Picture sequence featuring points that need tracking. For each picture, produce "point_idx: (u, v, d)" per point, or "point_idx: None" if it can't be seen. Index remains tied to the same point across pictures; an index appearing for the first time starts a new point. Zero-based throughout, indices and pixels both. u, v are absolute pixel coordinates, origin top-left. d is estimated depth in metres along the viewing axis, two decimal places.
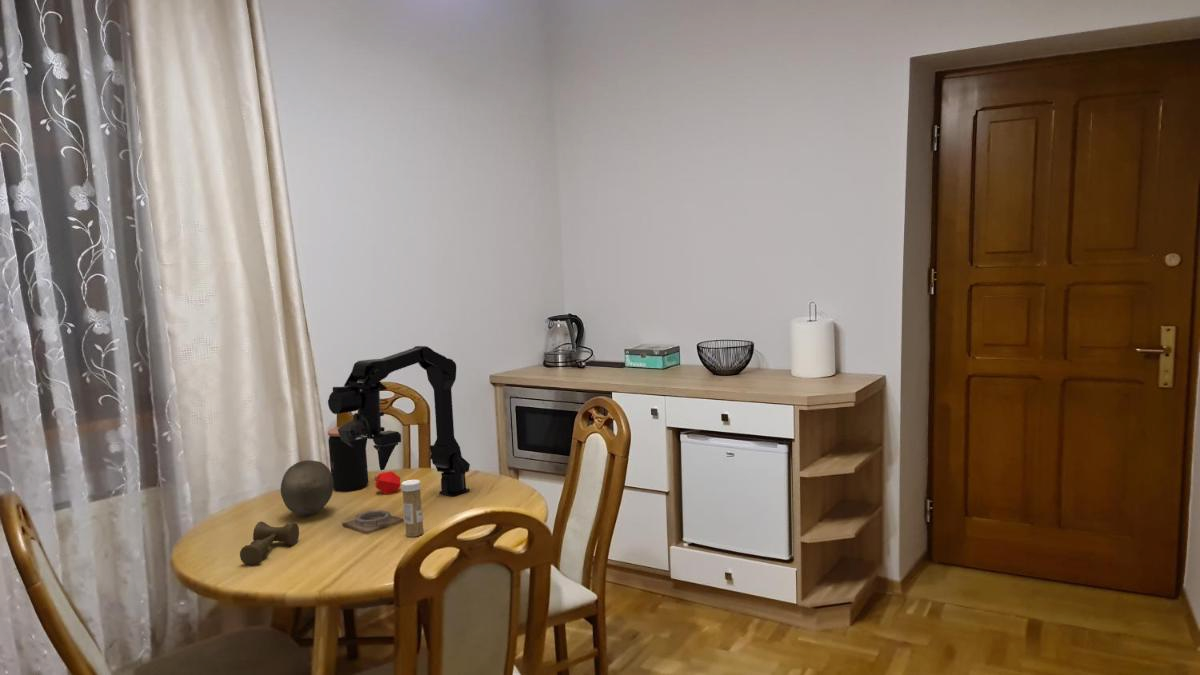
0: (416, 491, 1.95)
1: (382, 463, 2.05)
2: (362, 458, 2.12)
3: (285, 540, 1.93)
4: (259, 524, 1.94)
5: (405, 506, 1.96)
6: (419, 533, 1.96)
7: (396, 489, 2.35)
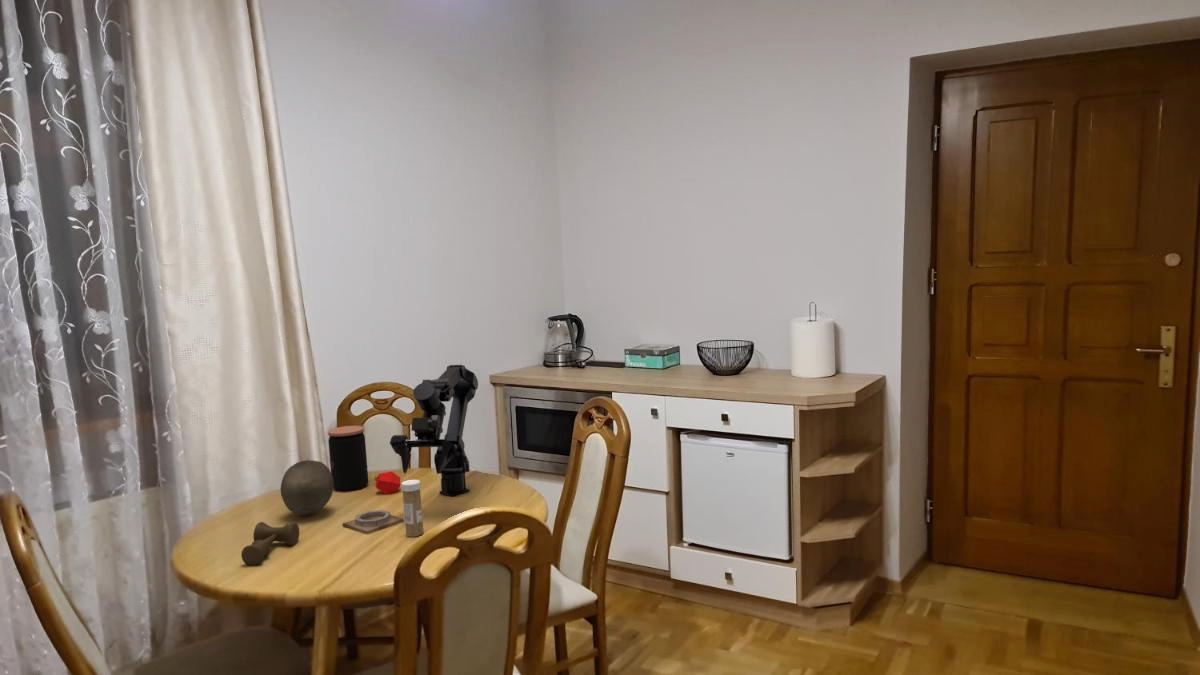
0: (416, 491, 1.95)
1: (442, 464, 2.05)
2: (407, 467, 2.07)
3: (286, 540, 1.93)
4: (259, 525, 1.94)
5: (405, 506, 1.96)
6: (419, 533, 1.96)
7: (396, 489, 2.35)
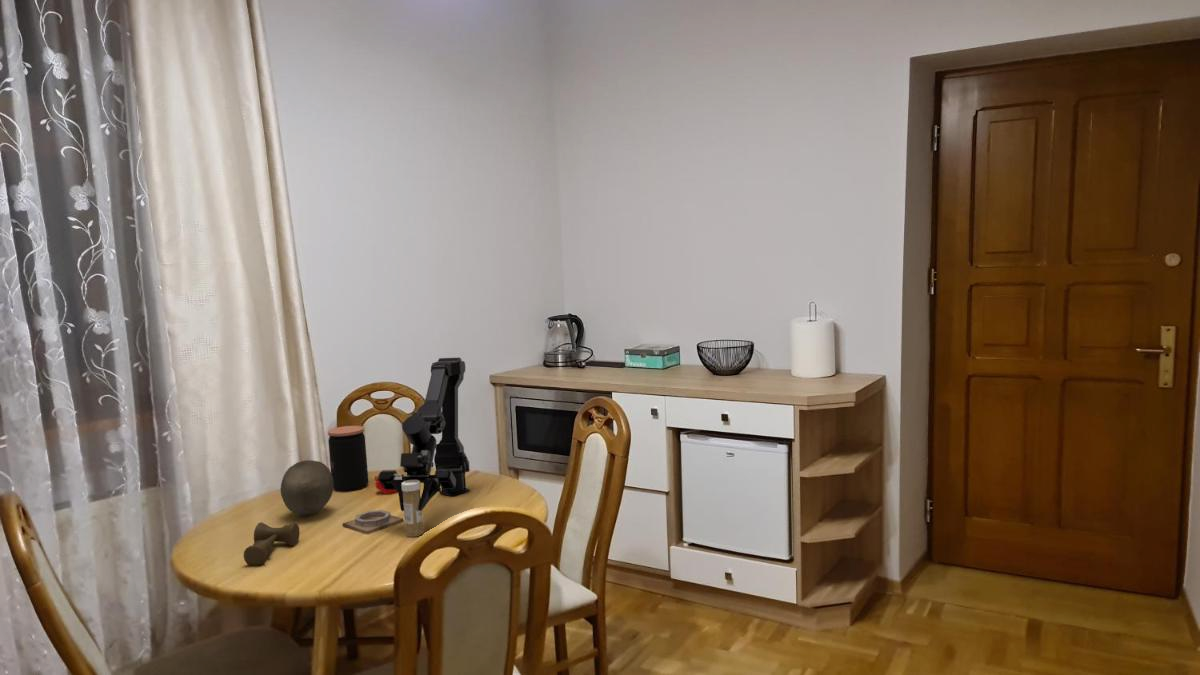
0: (415, 491, 1.95)
1: (423, 502, 1.97)
2: None
3: (287, 540, 1.93)
4: (259, 525, 1.94)
5: (405, 506, 1.96)
6: (419, 533, 1.96)
7: None
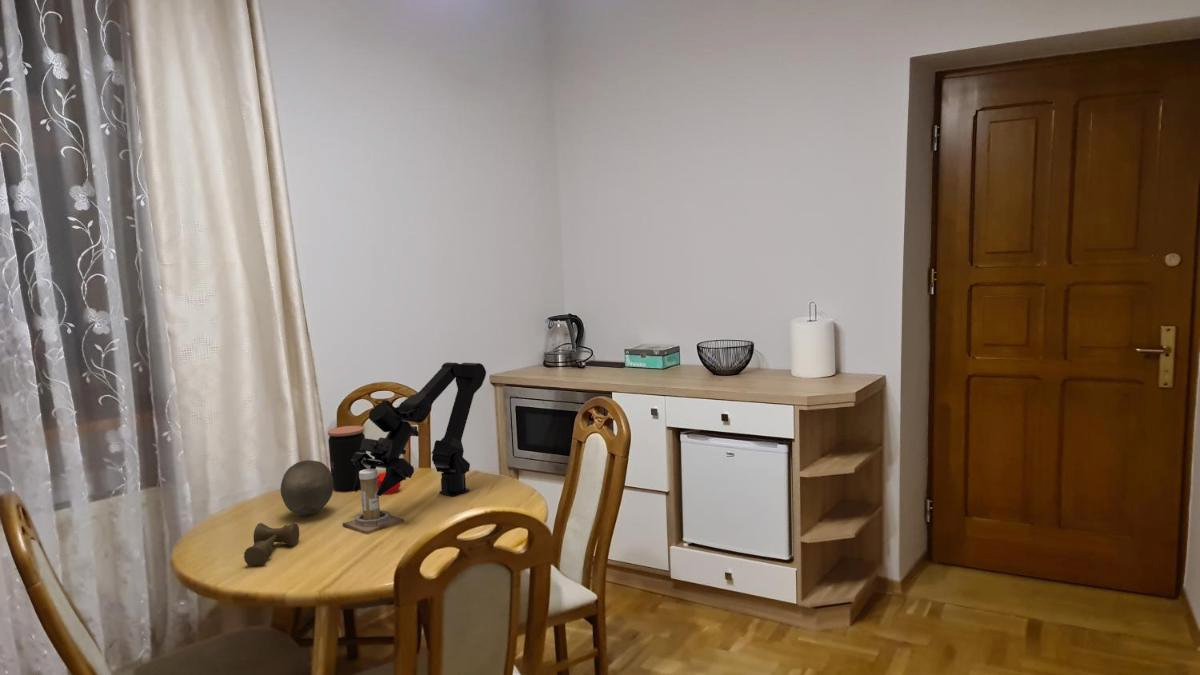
0: (368, 480, 2.05)
1: (382, 488, 2.03)
2: (360, 486, 2.09)
3: (287, 541, 1.92)
4: (259, 526, 1.93)
5: (361, 493, 2.06)
6: None
7: (396, 489, 2.35)
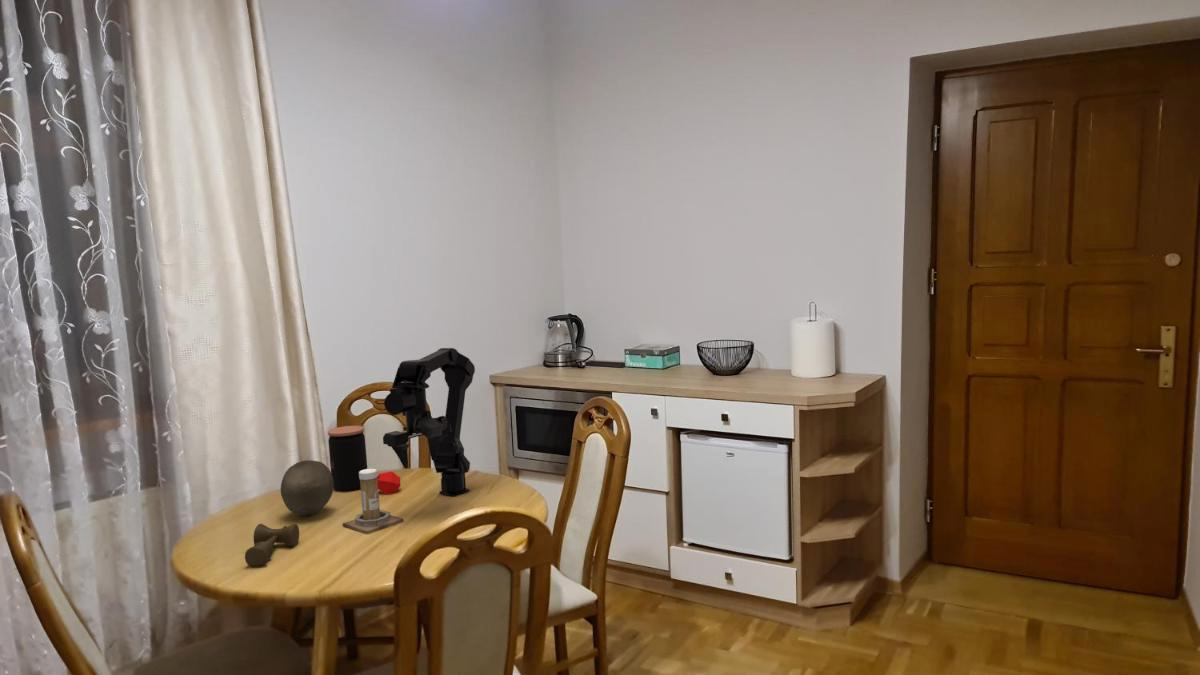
0: (368, 480, 2.04)
1: None
2: None
3: (287, 541, 1.92)
4: (259, 526, 1.93)
5: (361, 493, 2.06)
6: None
7: (396, 489, 2.35)
